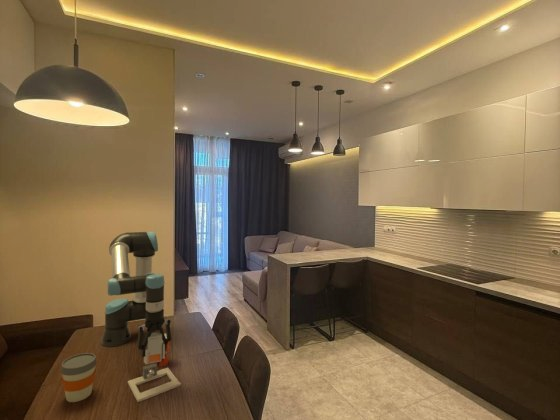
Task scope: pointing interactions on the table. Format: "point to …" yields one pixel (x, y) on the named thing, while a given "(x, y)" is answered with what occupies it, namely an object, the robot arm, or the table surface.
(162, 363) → the paper cup
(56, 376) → the table surface
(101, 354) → the table surface
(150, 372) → the silver metal knob
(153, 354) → the skincare box
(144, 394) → the socket board
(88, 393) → the reusable coffee cup
